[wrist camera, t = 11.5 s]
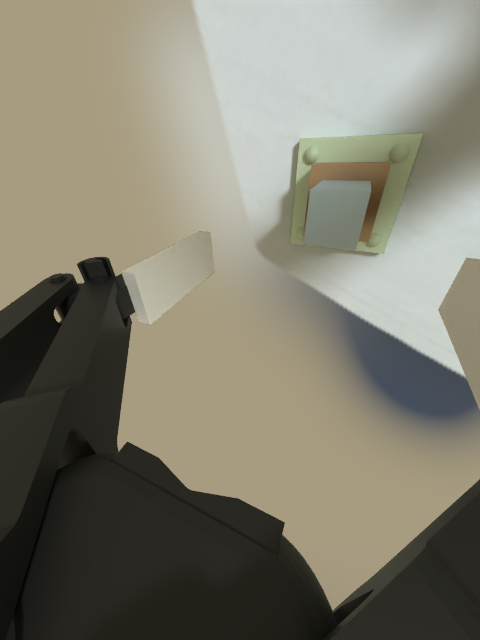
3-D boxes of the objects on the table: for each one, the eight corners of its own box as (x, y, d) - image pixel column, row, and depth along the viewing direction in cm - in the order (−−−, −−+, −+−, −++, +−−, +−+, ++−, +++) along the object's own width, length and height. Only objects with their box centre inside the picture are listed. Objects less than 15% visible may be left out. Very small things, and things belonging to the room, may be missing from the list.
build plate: (301, 138, 30) (299, 138, 29) (422, 133, 26) (424, 132, 25) (291, 241, 38) (289, 244, 37) (383, 251, 33) (383, 254, 32)
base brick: (317, 162, 30) (311, 164, 27) (388, 161, 27) (391, 163, 24) (308, 228, 35) (302, 236, 32) (368, 233, 32) (368, 242, 29)
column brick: (322, 180, 28) (310, 189, 22) (370, 180, 26) (371, 191, 20) (316, 225, 30) (303, 244, 25) (358, 228, 29) (355, 250, 23)
